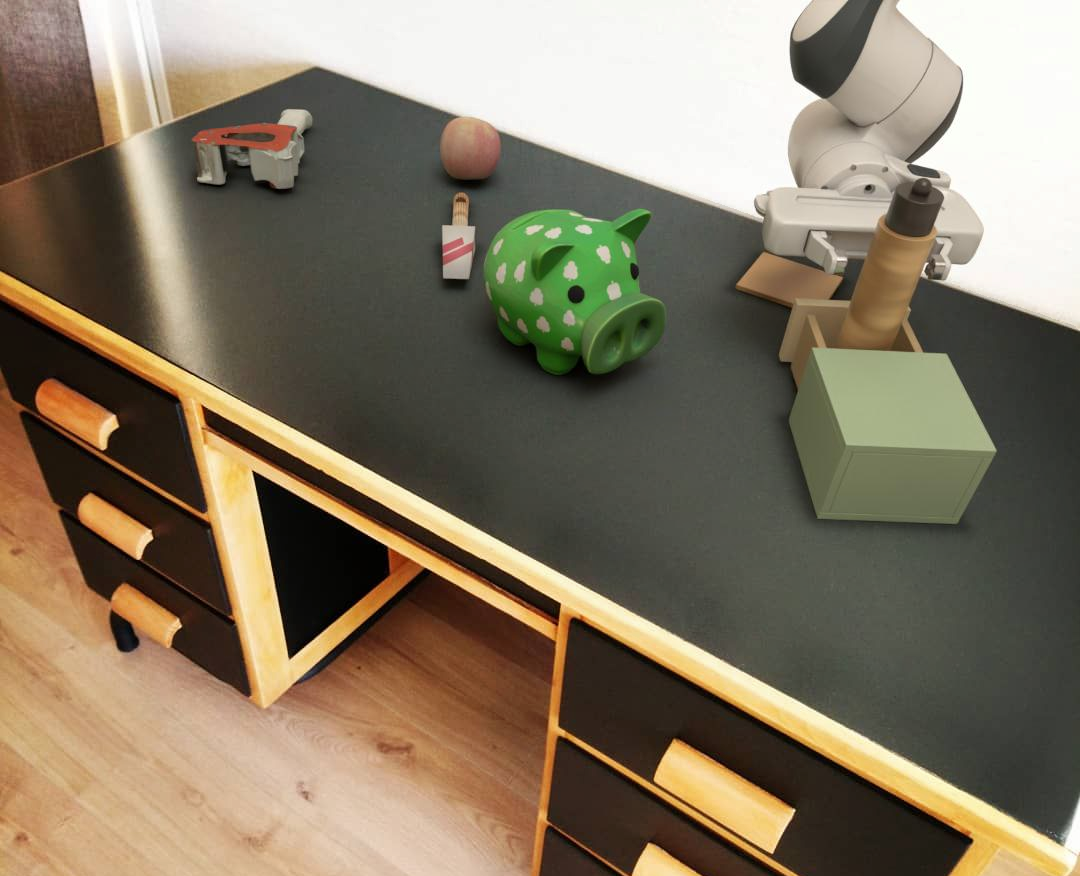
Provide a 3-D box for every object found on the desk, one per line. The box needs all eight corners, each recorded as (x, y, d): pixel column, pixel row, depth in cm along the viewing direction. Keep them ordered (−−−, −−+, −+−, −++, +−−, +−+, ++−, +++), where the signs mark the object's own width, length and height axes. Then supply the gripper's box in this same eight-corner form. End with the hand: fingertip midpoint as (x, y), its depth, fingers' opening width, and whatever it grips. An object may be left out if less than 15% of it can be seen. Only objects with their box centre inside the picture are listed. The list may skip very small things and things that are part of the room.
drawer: (776, 348, 99) (792, 291, 94) (882, 353, 99) (904, 296, 94) (802, 432, 89) (822, 373, 84) (919, 437, 90) (946, 379, 85)
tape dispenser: (306, 135, 132) (169, 160, 122) (302, 95, 129) (161, 118, 118) (374, 178, 123) (232, 209, 112) (373, 136, 119) (226, 164, 109)
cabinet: (788, 420, 92) (811, 347, 85) (914, 425, 92) (946, 353, 86) (817, 519, 82) (846, 444, 76) (957, 524, 83) (997, 451, 77)
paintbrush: (437, 265, 102) (446, 187, 116) (438, 288, 103) (446, 209, 118) (473, 266, 102) (477, 189, 116) (473, 289, 104) (477, 210, 118)
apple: (510, 188, 122) (512, 126, 116) (457, 199, 119) (457, 136, 113) (482, 162, 126) (483, 102, 120) (431, 172, 123) (429, 110, 118)
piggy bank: (566, 417, 90) (580, 278, 79) (455, 328, 99) (455, 192, 88) (671, 367, 97) (697, 232, 86) (558, 287, 106) (569, 157, 95)
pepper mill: (880, 381, 94) (962, 175, 78) (866, 407, 91) (948, 198, 75) (832, 364, 95) (903, 159, 80) (817, 389, 92) (887, 181, 77)
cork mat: (841, 281, 110) (843, 277, 110) (818, 316, 105) (819, 312, 104) (762, 256, 113) (763, 251, 113) (735, 289, 108) (736, 284, 107)
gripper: (757, 161, 91) (783, 232, 81) (963, 172, 92) (1013, 244, 82) (743, 222, 96) (767, 296, 86) (940, 232, 96) (984, 306, 87)
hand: (889, 270), depth 84 cm, fingers open, 8 cm apart
